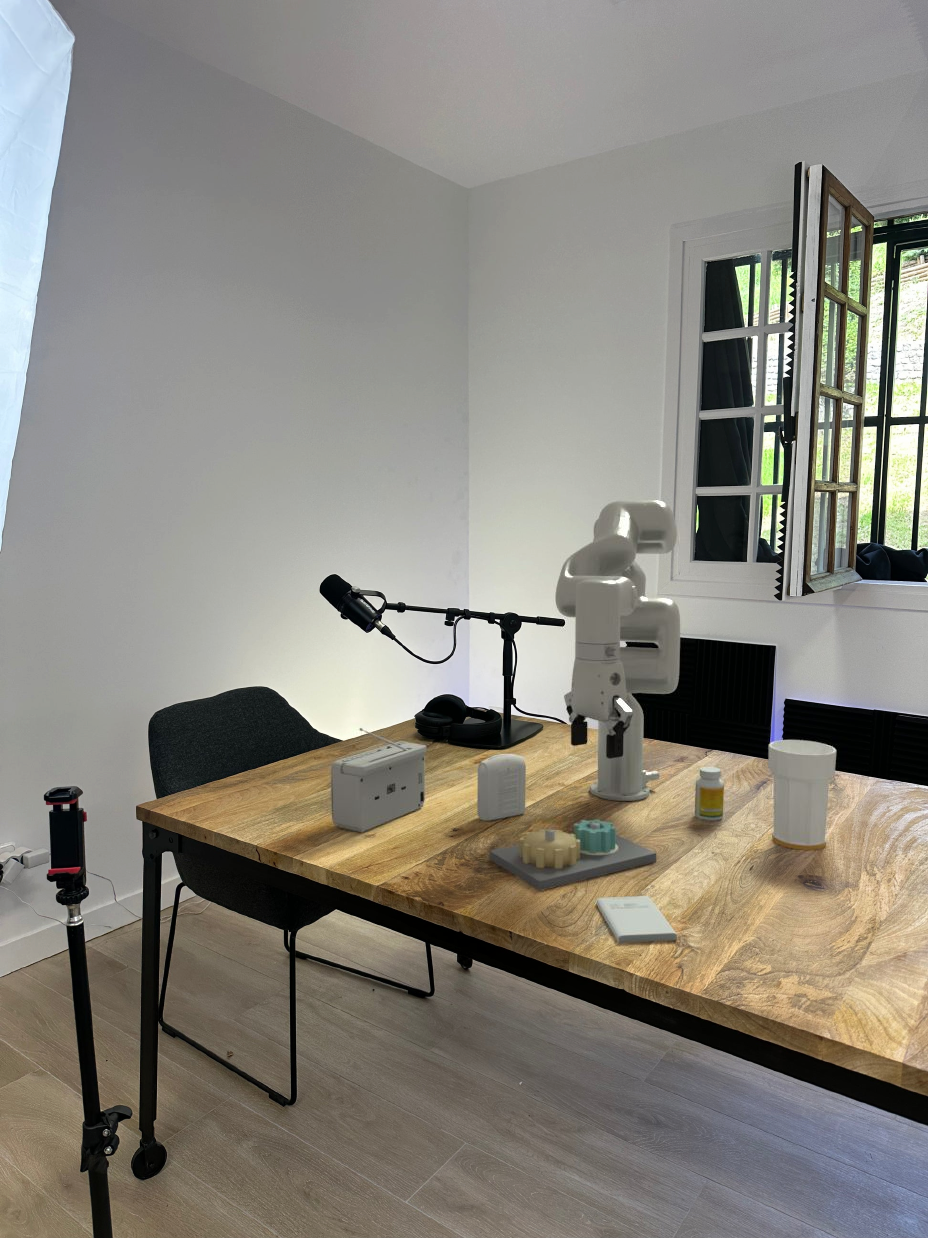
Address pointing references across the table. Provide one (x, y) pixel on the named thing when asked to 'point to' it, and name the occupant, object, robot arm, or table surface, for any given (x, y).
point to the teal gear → (595, 836)
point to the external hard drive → (635, 919)
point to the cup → (801, 792)
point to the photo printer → (501, 787)
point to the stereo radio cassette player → (377, 785)
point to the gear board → (577, 870)
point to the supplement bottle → (709, 794)
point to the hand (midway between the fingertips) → (596, 750)
